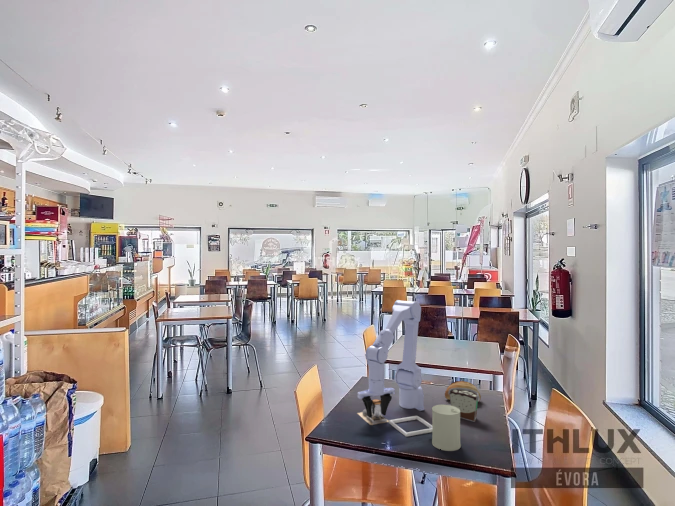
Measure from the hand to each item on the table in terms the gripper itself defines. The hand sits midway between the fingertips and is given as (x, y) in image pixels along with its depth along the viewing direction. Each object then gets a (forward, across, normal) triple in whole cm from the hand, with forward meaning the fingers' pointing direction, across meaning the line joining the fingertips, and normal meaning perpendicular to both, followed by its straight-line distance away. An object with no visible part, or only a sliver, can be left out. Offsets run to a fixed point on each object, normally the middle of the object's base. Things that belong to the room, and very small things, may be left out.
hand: (376, 415), depth 150 cm
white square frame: (+3, -9, +10) cm, 14 cm away
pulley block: (+3, 0, -3) cm, 4 cm away
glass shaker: (+2, 0, 0) cm, 2 cm away
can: (+3, -14, +23) cm, 27 cm away
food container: (+3, -36, +6) cm, 37 cm away
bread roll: (+3, -46, -9) cm, 47 cm away
